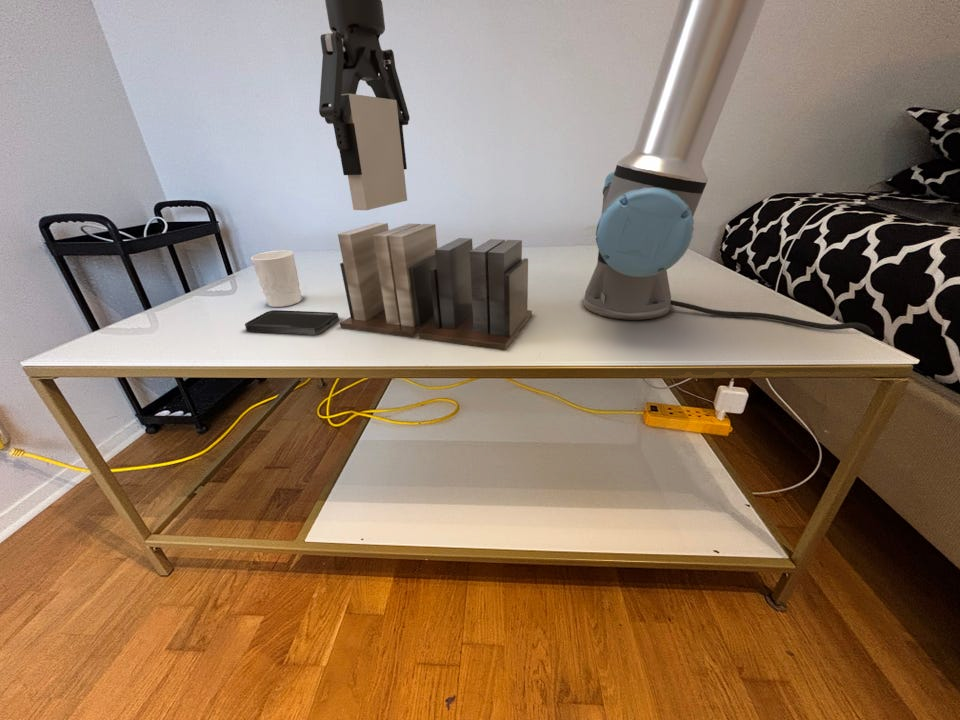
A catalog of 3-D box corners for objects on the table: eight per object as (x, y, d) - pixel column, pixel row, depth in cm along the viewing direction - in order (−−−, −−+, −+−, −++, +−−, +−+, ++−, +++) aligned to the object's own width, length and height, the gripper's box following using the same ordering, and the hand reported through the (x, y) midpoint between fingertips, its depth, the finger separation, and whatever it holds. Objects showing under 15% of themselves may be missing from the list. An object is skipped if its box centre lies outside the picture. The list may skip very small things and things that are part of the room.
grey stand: (531, 315, 75) (533, 236, 68) (505, 350, 63) (504, 258, 56) (457, 307, 80) (451, 234, 74) (419, 338, 68) (408, 253, 61)
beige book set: (452, 307, 80) (445, 222, 73) (413, 337, 68) (401, 239, 61) (387, 300, 86) (375, 220, 78) (340, 328, 73) (320, 236, 66)
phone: (270, 309, 80) (340, 312, 77) (271, 315, 80) (341, 318, 77) (241, 325, 73) (316, 329, 70) (243, 331, 73) (318, 335, 70)
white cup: (286, 309, 83) (273, 260, 79) (256, 306, 86) (241, 258, 81) (312, 297, 90) (301, 251, 85) (283, 294, 92) (271, 249, 88)
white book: (407, 200, 72) (396, 100, 65) (366, 210, 62) (348, 93, 55) (395, 200, 73) (383, 101, 66) (353, 210, 63) (334, 94, 56)
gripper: (380, 21, 67) (398, 167, 77) (260, -28, 47) (304, 178, 57) (421, 14, 64) (433, 167, 74) (311, -41, 44) (348, 177, 54)
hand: (377, 172), depth 65 cm, fingers closed on white book, 12 cm apart
